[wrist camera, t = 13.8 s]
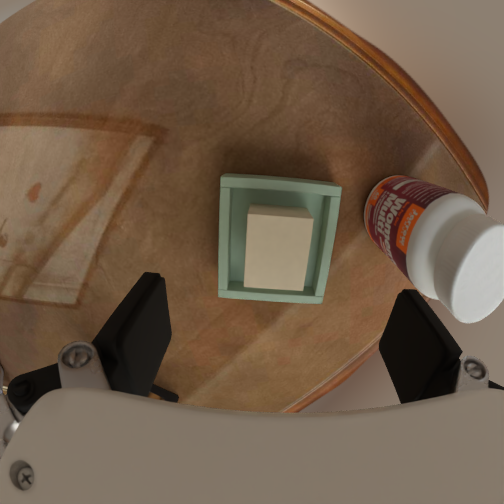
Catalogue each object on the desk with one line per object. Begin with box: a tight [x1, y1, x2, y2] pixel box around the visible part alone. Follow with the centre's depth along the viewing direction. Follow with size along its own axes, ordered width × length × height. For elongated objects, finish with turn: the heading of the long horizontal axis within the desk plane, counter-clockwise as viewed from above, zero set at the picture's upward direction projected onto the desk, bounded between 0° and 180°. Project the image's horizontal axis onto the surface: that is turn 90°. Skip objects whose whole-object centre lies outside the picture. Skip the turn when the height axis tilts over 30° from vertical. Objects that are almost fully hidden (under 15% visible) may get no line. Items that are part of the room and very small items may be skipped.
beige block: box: [244, 203, 314, 291], centre depth 18 cm, size 5×4×3 cm
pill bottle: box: [364, 175, 504, 323], centre depth 14 cm, size 6×6×11 cm
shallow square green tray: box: [218, 173, 342, 304], centre depth 19 cm, size 9×8×2 cm
